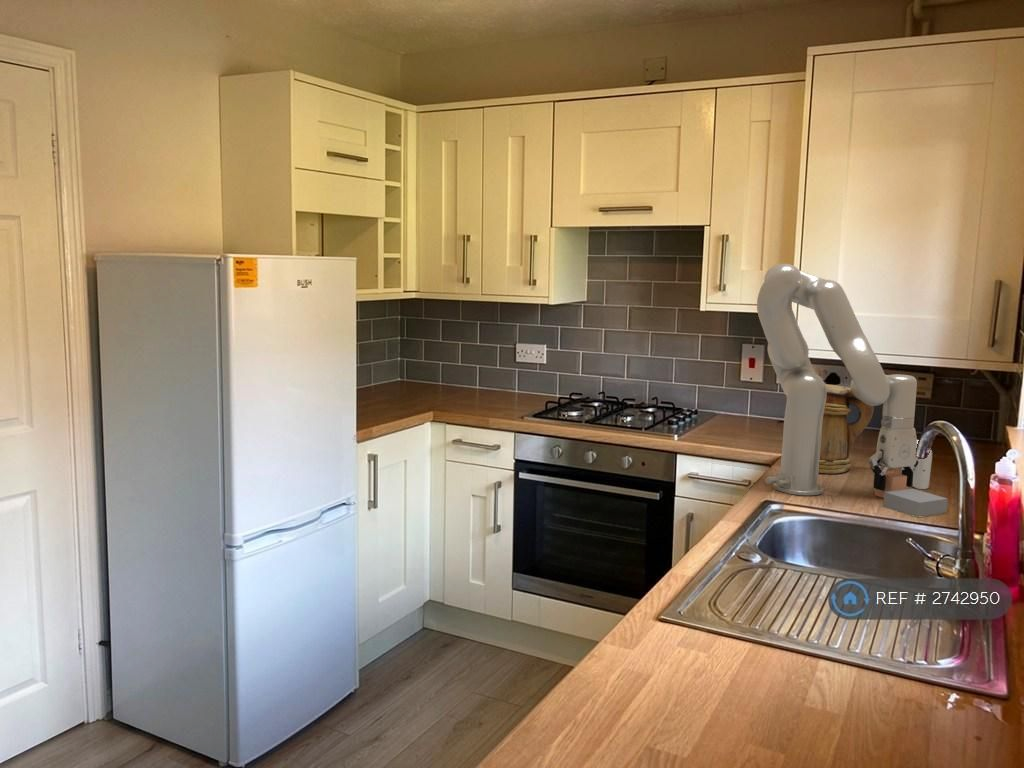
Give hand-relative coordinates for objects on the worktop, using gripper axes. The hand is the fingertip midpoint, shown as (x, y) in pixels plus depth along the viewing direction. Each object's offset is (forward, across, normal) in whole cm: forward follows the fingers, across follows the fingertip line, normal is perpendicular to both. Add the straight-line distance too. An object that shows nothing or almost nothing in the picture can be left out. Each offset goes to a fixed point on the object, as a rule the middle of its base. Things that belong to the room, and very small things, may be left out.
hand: (892, 487), depth 220 cm
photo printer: (+3, +16, +7) cm, 18 cm away
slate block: (+3, -4, -11) cm, 12 cm away
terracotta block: (+2, 0, 0) cm, 3 cm away
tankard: (+2, +6, +30) cm, 31 cm away
